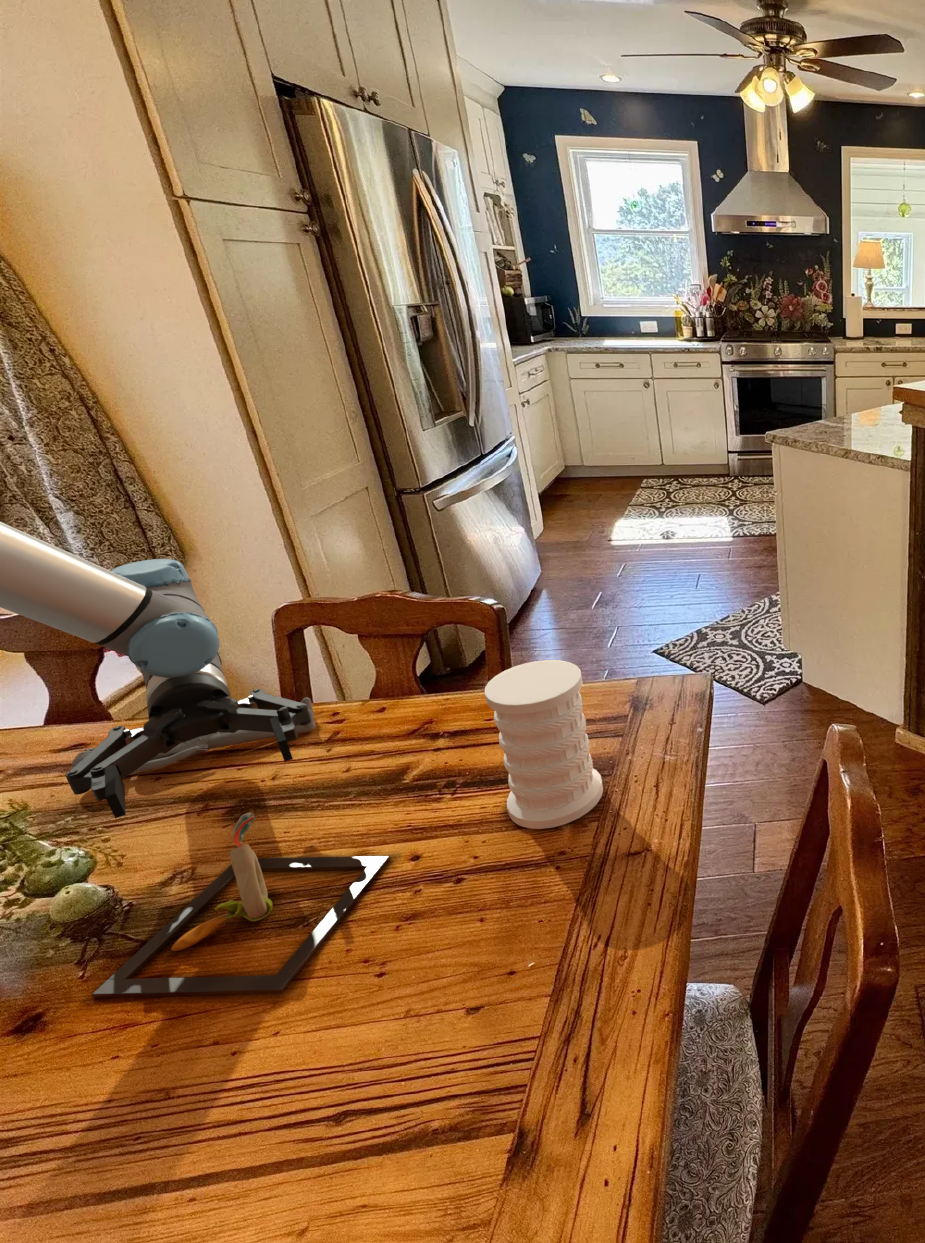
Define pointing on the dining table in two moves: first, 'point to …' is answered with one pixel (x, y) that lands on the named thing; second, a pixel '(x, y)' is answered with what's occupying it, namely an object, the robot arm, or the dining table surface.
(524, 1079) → the dining table surface
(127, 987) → the spot frame
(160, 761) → the alien figure
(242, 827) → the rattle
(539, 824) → the decorative container
